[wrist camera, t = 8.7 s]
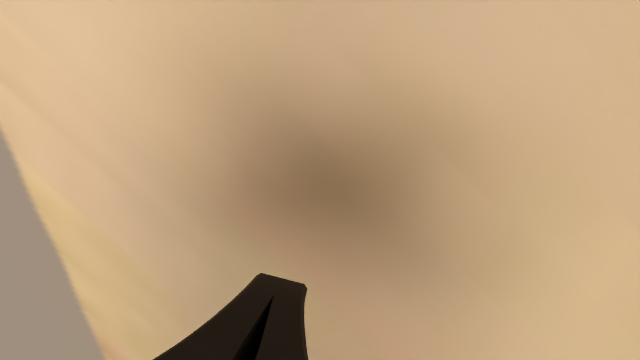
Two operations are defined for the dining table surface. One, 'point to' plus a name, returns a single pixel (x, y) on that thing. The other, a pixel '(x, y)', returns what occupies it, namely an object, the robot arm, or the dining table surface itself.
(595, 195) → the dining table surface
